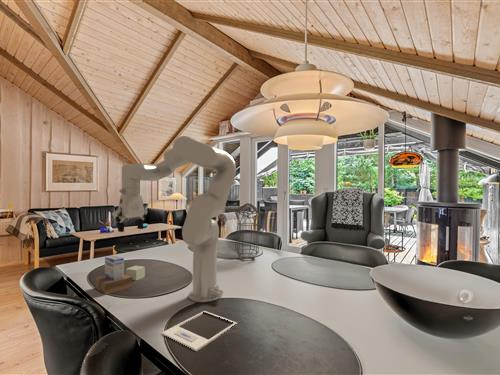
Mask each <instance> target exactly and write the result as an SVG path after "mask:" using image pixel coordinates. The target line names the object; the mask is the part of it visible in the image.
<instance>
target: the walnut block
mask: <svg viewBox="0 0 500 375" xmlns="http://www.w3.org/2000/svg"><path fill="white" fill-rule="evenodd" d="M133 281H134V280H133V277H131V276H129V275H127V274H126V272H124V277H123V278H121V279H117V280H112V279H109V278H106V277H105V275H102V276H98V277H97V276H96V277H95V289H96V290H98V291H99V292H101V293H102V294H103V295H105V296H108V295H110V293H111V294H114V293H113V292H115V293H118V292H122V291H125V289H126V290H128V289H133ZM117 291H118V292H117Z"/></svg>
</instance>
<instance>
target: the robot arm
mask: <svg viewBox="0 0 500 375" xmlns="http://www.w3.org/2000/svg"><path fill="white" fill-rule="evenodd" d="M190 163H191V164H194V165H196V166H199V167H200V168H203V169H208V170H215V173H214V175H213V176H212V178H211V180H210V183H209V185H208V188H207V190H206V191H207V192H206V193H201V194H198V195H197V196H195V197H194V198H193V199H192V201H191V203H190V205H189V208H188V210H187V211H188V212H187V214H186V216H185V217H186V218H185V220H184V223H183V225H182V231H181V235H182V239H183V241H184V243H185V244H186V245H188V246H190V247H193V253H192V290H191V291H190V292H189V293H188V299H189V300H191V301H192V302H196V303H209V302H213V301H216V300H218V299H221V298H222V296H223V294H224V290H222V289H219V286H220V285H218V284H217V278H218V276H217V269H218V268H217V267H218V266H217V265H218V264H217V263H218V262H217V261H218V259H217V258H218V242H219V237H220V236H219V234H220V227H219V224H218V223H217V221H216V220H215V219H213V218H215V217H219V216H220V215H222V214H223V212H224V210H225V208H226V204H227V202H228V198H229V195H230V192H231V189H232V186H233V183H234V181H235V179H236V175H237V165H236V161H235V160H234V158H233V157H232V155H230V153H228V152H227V151H226V150H224V149H221V148H218V147H214V146H211V145H208V144H207V143H203V142H201V141H200V140H199V139H196V138H193V137H191V136H188V135H181V136H179V137H177V138H176V139H175V140H174V142H173V144H172V147H171V148H169V149H168V150H166V151H164V153H163V160H162V161H159V162H158V163H156V164H152V163H146V162H145V163H144V162H139V163H134V164H133V163H132V164H123V165H122V166H121V189H119V193H121V195H119V202H118V209H115V211H113V212H112V213H111V215H112V217H113V219H114V221H116V223H117V230H118V233H119V232H120V233H124V232H125V223H124V221H125V219H129V218H131V219H132V218H136V219H138V220H137V221H136V222H137V223H136V225H137V226H136V229H138V230H143V229H144V221H145V218H146V217H147V214H148V212H149V211H148V210H147V209H146V208H144V199H143V195H142V194H141V181H146V182H147V181H148V182H155V181H160V180H162V179H164V178H166V177H169V176H171V175H172V174H173V173H174V172H175V171H176V169H177V170H178V169H179V168H181V167H183V166H185V165H187V164H190Z"/></svg>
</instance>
